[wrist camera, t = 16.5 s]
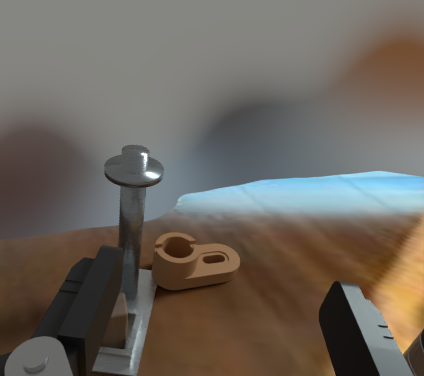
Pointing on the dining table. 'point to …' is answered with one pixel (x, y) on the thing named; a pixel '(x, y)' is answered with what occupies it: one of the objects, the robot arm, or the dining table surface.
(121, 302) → the wooden block
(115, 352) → the metal post stand
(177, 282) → the bracket
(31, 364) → the robot arm
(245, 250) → the dining table surface
